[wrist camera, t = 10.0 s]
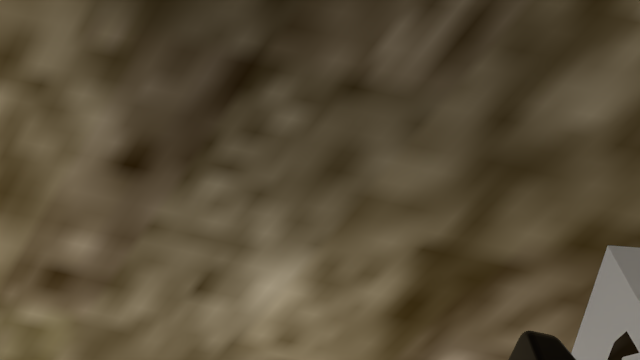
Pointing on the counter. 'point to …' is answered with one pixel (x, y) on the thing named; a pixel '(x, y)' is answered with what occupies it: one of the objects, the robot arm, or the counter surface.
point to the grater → (612, 306)
